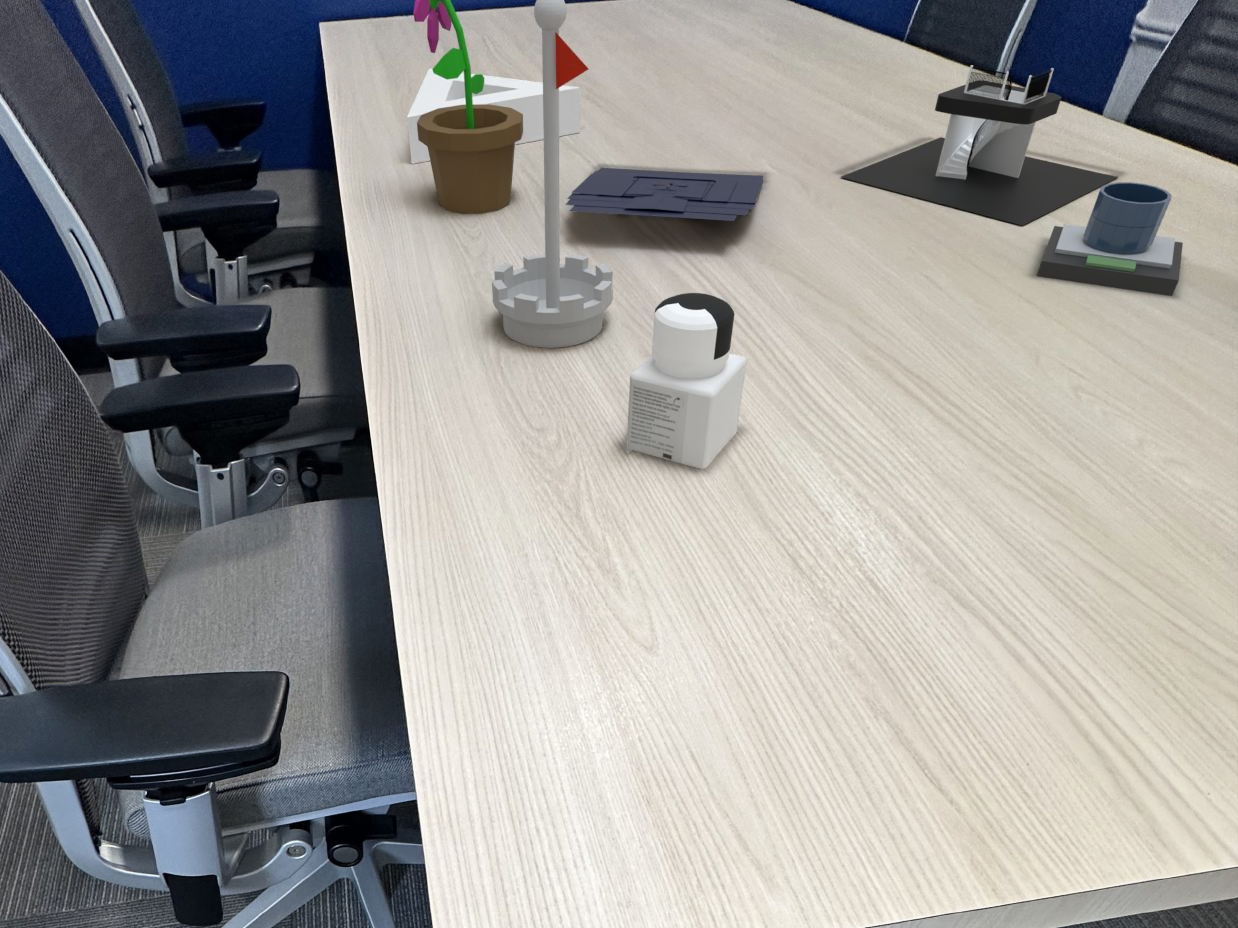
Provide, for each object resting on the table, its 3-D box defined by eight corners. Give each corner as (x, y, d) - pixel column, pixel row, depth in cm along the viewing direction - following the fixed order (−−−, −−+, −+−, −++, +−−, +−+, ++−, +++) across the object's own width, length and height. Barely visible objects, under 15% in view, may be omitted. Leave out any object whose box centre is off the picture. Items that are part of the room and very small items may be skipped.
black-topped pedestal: (839, 177, 138) (860, 69, 129) (940, 138, 150) (965, 35, 140) (1022, 226, 123) (1060, 107, 114) (1118, 178, 135) (1160, 66, 125)
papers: (553, 234, 122) (554, 202, 120) (598, 187, 145) (600, 160, 142) (746, 246, 117) (751, 213, 115) (762, 196, 140) (766, 168, 138)
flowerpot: (448, 181, 142) (427, -80, 120) (539, 189, 138) (535, -79, 117) (407, 213, 132) (378, -63, 111) (504, 223, 129) (493, -61, 107)
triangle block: (432, 110, 169) (429, 68, 164) (580, 107, 168) (580, 64, 163) (411, 164, 148) (406, 117, 143) (580, 161, 147) (580, 113, 142)
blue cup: (1151, 237, 112) (1172, 186, 108) (1148, 258, 108) (1170, 207, 104) (1085, 228, 114) (1103, 179, 111) (1078, 249, 110) (1097, 198, 106)
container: (661, 416, 91) (672, 277, 82) (737, 436, 89) (757, 294, 79) (624, 454, 87) (631, 311, 78) (703, 476, 84) (720, 330, 75)
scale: (1173, 263, 114) (1185, 237, 112) (1169, 302, 106) (1181, 275, 104) (1047, 246, 118) (1056, 221, 116) (1034, 281, 111) (1043, 256, 109)
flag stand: (470, 324, 107) (446, -7, 86) (558, 291, 113) (556, -27, 91) (546, 363, 100) (541, 12, 78) (636, 326, 105) (654, -11, 84)
